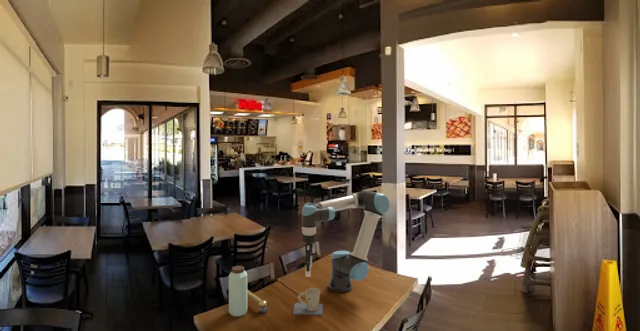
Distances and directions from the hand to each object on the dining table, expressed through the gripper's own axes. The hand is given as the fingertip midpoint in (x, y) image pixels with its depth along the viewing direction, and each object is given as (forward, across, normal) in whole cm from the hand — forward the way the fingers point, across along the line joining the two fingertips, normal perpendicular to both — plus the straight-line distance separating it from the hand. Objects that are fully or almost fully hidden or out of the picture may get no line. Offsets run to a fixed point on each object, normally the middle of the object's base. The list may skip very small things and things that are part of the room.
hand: (308, 271), depth 191 cm
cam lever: (+18, -4, -32) cm, 37 cm away
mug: (+21, 0, 0) cm, 21 cm away
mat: (+22, 0, 0) cm, 22 cm away
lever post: (+21, +4, -25) cm, 33 cm away
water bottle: (+22, +6, -38) cm, 44 cm away
